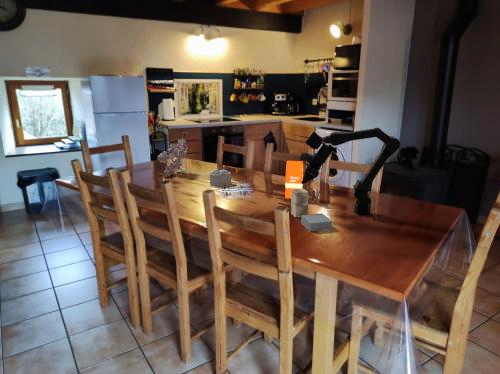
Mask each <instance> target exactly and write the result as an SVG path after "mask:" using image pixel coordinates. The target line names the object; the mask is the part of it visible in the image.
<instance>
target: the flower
mask: <svg viewBox="0 0 500 374" xmlns="http://www.w3.org/2000/svg"><path fill="white" fill-rule="evenodd" d="M177 140H178V141H177V144H175V143H172V144H171V143H169V148H168V149H167V151H165V150H164V151H163V152H161V153H159V155H157V161H159V162H160V163H165V164H167V165H166V166H165V170H163V174H164V176H166V177H170V176H171V175H172V174H175V172H176V173H183V174H186V173H185V171H186V169H185V167H183V168H181V167H182V165H183V163H182V160H184V159H185V158H186V155H187V154H188V150H187V149H188V145H187V144H186V143H187V140H186V139H184V138H181V140H180V139H177ZM168 152H169V153H170V152H171V153H170V154H168ZM174 158H175V159H174ZM173 159H174V160H173ZM169 160H171V162H169ZM174 168H175V169H177V171H175V169H174ZM173 169H174V170H173Z"/></svg>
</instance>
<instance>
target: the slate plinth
mask: <svg viewBox="0 0 500 374" xmlns="http://www.w3.org/2000/svg"><path fill="white" fill-rule="evenodd" d="M300 221H301V222H300V223H301V225H303V226H304V227H305V228H306V229H307V230H308V231H309V232H310V233H311V232H318V231H326V230H333V220H332V219H330V218H329V217H327V216H326V215H325V214H324V213H323V212H322V213H315V214H314V213H312V214H308V215H302V216H301V217H300Z"/></svg>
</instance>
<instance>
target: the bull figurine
mask: <svg viewBox="0 0 500 374" xmlns="http://www.w3.org/2000/svg"><path fill="white" fill-rule="evenodd" d="M305 190H306V191H308V197H309V198H308V202H309V201H310V200H311V204H314V201H315V200H316V205H317V204H319V196H320V193H322V191H321V190H318V189H315V188H313V187H311V186H307V187H306V188H305Z"/></svg>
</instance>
